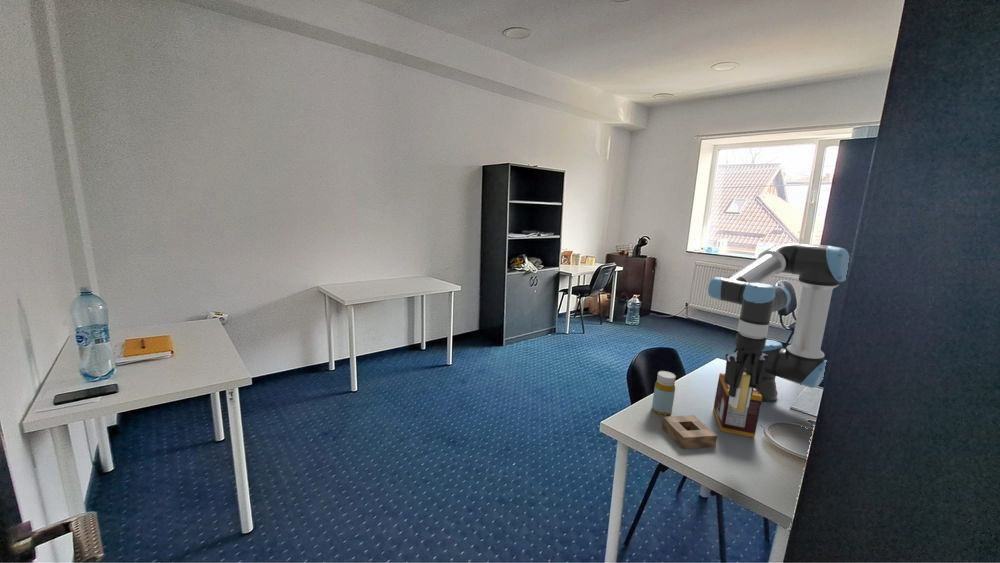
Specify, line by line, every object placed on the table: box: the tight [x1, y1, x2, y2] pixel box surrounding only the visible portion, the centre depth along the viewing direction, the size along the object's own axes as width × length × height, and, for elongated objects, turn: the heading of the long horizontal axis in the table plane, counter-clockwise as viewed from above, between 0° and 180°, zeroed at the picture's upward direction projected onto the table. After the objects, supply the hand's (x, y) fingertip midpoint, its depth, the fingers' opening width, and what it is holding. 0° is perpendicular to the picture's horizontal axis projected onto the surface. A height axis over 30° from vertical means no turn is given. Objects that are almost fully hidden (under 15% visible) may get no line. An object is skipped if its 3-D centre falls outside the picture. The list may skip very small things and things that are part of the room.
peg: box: [731, 372, 751, 413], centre depth 120 cm, size 3×3×12 cm
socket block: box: [661, 414, 718, 449], centre depth 131 cm, size 12×12×4 cm
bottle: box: [651, 370, 677, 416], centre depth 145 cm, size 7×7×15 cm
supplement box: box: [713, 372, 763, 438], centre depth 139 cm, size 10×15×16 cm
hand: (738, 405), depth 121 cm, fingers closed on peg, 3 cm apart
